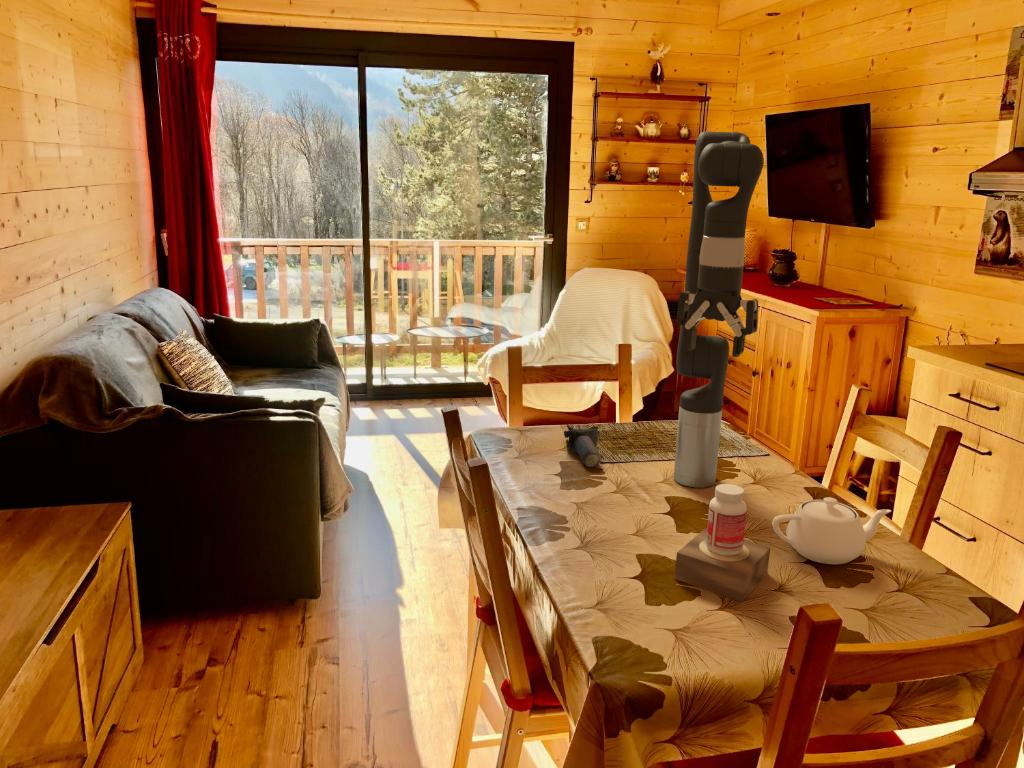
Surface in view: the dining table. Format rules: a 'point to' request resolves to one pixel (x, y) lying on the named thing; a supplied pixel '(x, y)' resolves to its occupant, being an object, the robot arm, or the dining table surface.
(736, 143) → the robot arm
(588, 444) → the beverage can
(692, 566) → the pedestal
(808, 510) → the teapot
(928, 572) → the dining table surface
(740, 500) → the pill bottle
